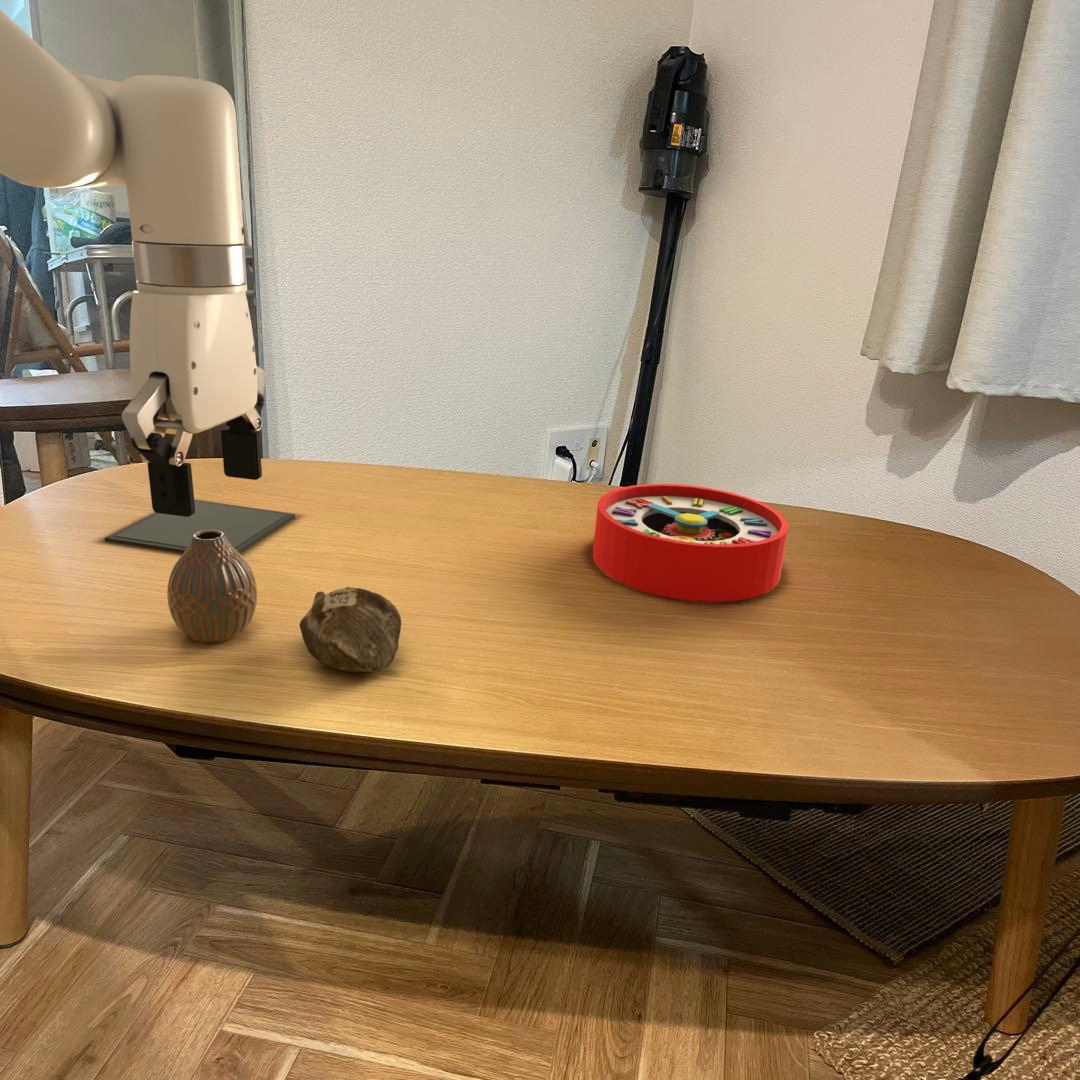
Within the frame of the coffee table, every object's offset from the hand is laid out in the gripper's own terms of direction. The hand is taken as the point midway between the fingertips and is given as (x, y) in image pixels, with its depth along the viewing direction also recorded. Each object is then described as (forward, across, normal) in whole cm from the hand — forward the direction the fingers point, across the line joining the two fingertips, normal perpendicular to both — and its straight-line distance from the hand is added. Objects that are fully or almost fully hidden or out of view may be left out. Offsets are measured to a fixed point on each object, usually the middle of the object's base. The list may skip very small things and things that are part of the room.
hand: (210, 494), depth 71 cm
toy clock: (+13, -31, +36) cm, 49 cm away
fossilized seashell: (+12, 0, +12) cm, 17 cm away
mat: (+12, -21, -14) cm, 28 cm away
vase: (+12, 0, 0) cm, 12 cm away
